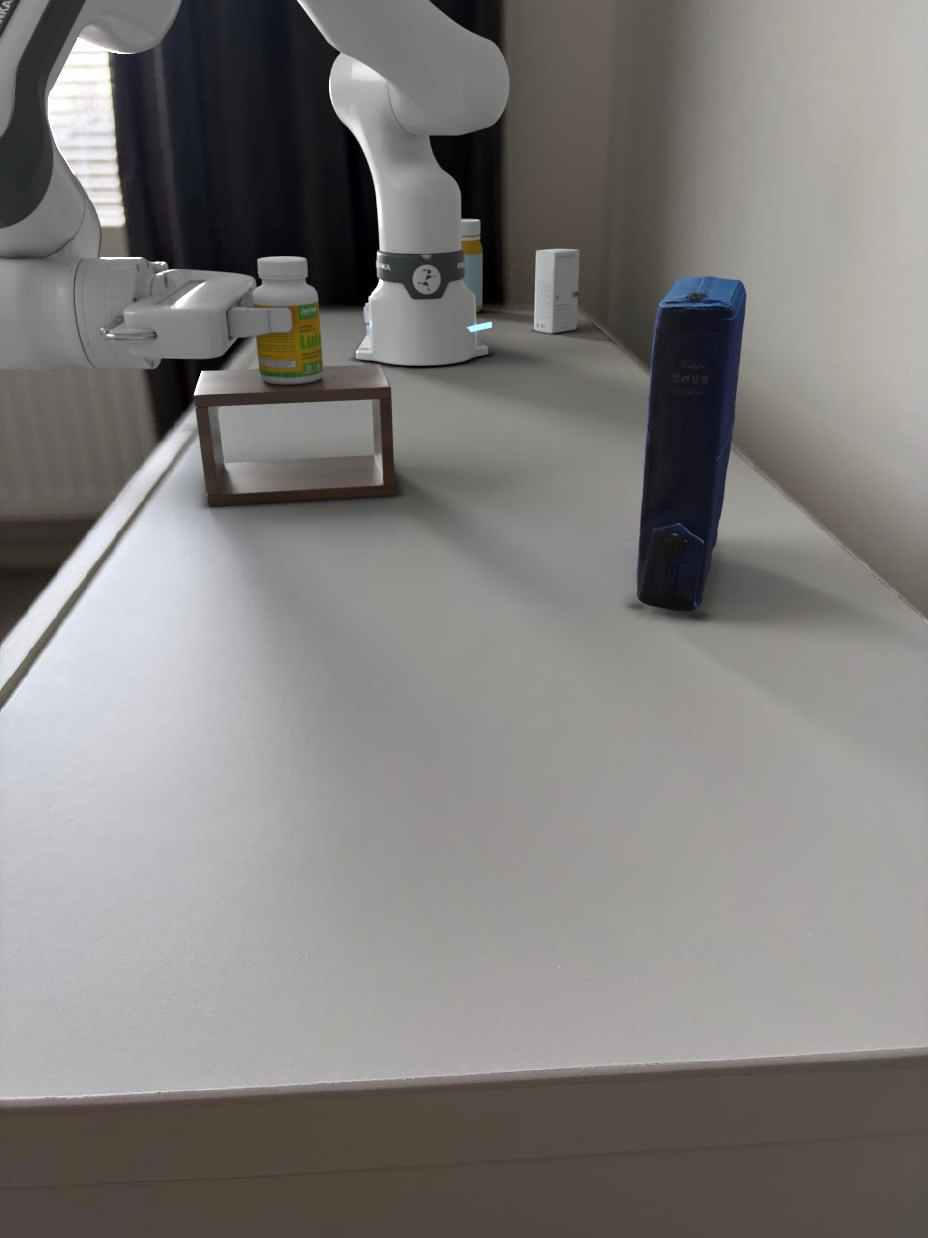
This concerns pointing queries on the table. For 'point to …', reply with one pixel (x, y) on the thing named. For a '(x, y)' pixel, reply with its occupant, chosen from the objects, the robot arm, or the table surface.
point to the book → (688, 437)
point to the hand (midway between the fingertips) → (297, 312)
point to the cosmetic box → (556, 290)
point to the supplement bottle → (300, 348)
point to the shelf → (297, 474)
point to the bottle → (472, 258)
